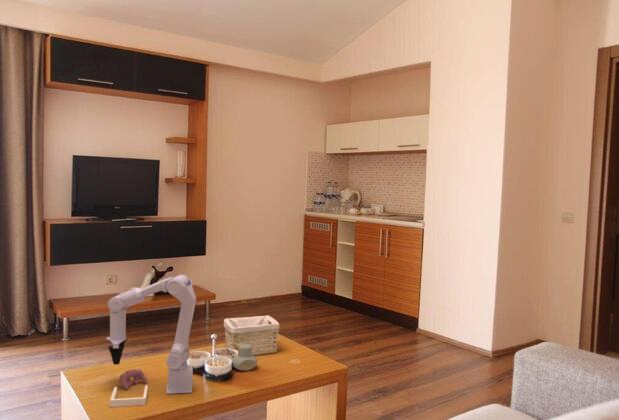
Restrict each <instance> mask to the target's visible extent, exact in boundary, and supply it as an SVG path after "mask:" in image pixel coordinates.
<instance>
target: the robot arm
mask: <svg viewBox="0 0 619 420" xmlns="http://www.w3.org/2000/svg"><path fill="white" fill-rule="evenodd" d="M160 291H162V292H164V293H167V292H168V293H169V294H170V295H171V296H172V297H174V298H176V299H177V300H178V302H180V303H181V305H180V310H179V315H178V319H177V321H178V322H177V325H176V331H175V336H174V341H173V344H172V346H171V349H170V352H169V355H168V356H167V357H166V362H165V363H166V366H167V367H168V368H167V369H168V371H167V373H168V374H167V384H166V395H171V394H173V395H174V394H189V393H192V392H193V386H194V380H193V376H194V375H193V374H194V373H193V370H194V369H193V366H192V365H188V361H189V358H190V357H191V356H190V349H189V347H190V344H189V338H190V334H191V332H190V331H191V329H192V323H193V317H194V314H195V313H194V312H195V307H196V302H197V296H196V294H195V291H194V287H193V282H192V280H191V279H190V278H189V276H188V275H186V274H178V275H176V276H171V277H167V278H163V279H161V280H159V281H157V282H155V283H152V284H150V285H148V286H146V287H143V288H141V287H134V286H133V287H131V288H129V290H128V291H125V292H123V291H122V292H120V293H119V294H117V295H115V296H113V297H111V298H109V300H108V301H107V307H108V309H109V336H107V337H106V341H110V343H112V345H109V346H108V347H107V349H108V351H109V353H110V355H111V359H112V360H111V361H112V364H113V366H114V365H120V363H121V358H122V356H123V351H124V349H125V344H126V341H127V336H126V333H127V331H126V330H127V328H126V324H127V322H126V321H127V320H126V319H127V308H130V307H131V306H134V305H137V304H138V303H142V302H143V301H144V300H145V297H148V296H150V295H152V294H156V293H158V292H160Z"/></svg>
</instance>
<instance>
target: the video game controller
mask: <svg viewBox="0 0 619 420" xmlns="http://www.w3.org/2000/svg"><path fill="white" fill-rule="evenodd" d="M132 378H133V379H132ZM131 379H132V380H131ZM119 381H120V383H121V386H122V387H123V389H124V390H125V391H128V390H129V387H130V386H132V384H135V385H136V384H139V383H140V381H141V382H142V383H143V384H144V385H148V378H147V377H146V374H144V372H143V370H141V368H140V369H139V368H137V369H135V368H134V369H133V368H132V369H128V370H127V371H125V372H123V373H122V374H121V375H119Z"/></svg>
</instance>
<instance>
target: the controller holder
mask: <svg viewBox="0 0 619 420" xmlns="http://www.w3.org/2000/svg"><path fill="white" fill-rule="evenodd" d="M148 392H149V385H148V384H144V390H143V395H142V397H129V398H117V395H118V386H114V387H113V391H112V393H111V396H110V401H109V407H110V408H118V407H133V406H135V407H136V406H146V404H147V400H148V399H147V397H148Z"/></svg>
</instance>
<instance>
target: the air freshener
mask: <svg viewBox="0 0 619 420" xmlns="http://www.w3.org/2000/svg"><path fill="white" fill-rule="evenodd" d="M232 359H233V360H232ZM232 359H231V362H232V361H233V365H232V367H234V369H236V370H238V371H243V372H247V371H250V370H253V369H254V368H255V367H256V366H257V365H258V359H257V357H256V355H252V346H251V345H250V344H241V345H239V346H238V355H236V356H235V357H232Z"/></svg>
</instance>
